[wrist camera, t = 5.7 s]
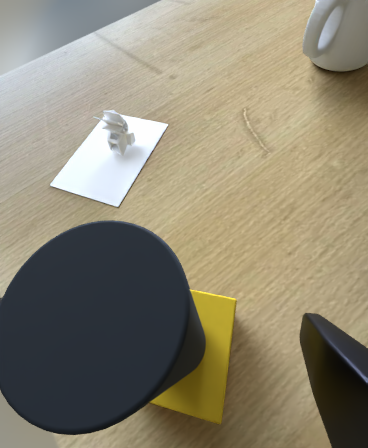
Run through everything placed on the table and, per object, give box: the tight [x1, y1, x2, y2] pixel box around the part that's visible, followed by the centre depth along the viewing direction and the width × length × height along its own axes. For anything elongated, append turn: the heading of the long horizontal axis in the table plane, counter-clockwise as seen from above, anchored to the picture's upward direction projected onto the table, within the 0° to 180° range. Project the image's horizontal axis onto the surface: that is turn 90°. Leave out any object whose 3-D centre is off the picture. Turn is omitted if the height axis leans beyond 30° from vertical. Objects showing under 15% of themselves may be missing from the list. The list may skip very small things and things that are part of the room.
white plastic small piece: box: [101, 110, 137, 157], centre depth 22 cm, size 3×3×3 cm
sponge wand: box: [0, 220, 237, 435], centre depth 9 cm, size 5×5×12 cm
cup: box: [303, 0, 368, 71], centre depth 22 cm, size 11×8×8 cm
